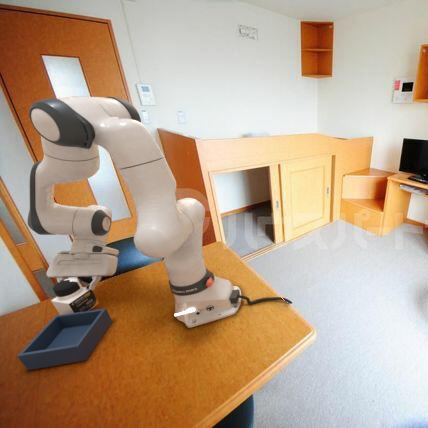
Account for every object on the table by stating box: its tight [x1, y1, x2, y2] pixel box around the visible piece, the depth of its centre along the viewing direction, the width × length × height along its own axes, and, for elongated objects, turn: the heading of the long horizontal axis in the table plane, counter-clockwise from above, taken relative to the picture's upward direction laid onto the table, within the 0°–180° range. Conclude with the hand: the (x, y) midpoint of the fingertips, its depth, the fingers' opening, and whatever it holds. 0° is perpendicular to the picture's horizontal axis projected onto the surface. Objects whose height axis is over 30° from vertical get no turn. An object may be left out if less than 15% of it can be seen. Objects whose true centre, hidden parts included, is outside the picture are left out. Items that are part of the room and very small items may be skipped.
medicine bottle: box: [50, 277, 100, 315], centre depth 80 cm, size 7×7×12 cm
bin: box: [16, 308, 113, 371], centre depth 71 cm, size 14×14×6 cm
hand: (76, 290), depth 80 cm, fingers closed on medicine bottle, 7 cm apart
